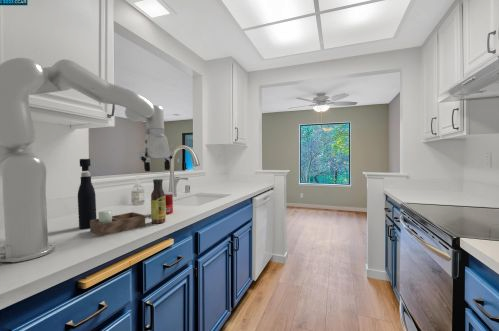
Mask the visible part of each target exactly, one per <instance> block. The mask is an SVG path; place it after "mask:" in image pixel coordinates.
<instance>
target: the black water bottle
mask: <svg viewBox="0 0 499 331" xmlns="http://www.w3.org/2000/svg"><path fill="white" fill-rule="evenodd" d="M79 167H81V171H82V172H81V173H80V174H81V175H80V184H79V187H78V190H77V210H78V214H77V215H78V229H80V230H88V229H89V230H90V220H94V219H97V202H96V201H97V200H96V191H95V188H94V186H93V183H92V176H91V172H90V167H91V158H80V159H79Z"/></svg>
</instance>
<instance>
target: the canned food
mask: <svg viewBox="0 0 499 331" xmlns="http://www.w3.org/2000/svg"><path fill="white" fill-rule="evenodd" d="M164 194H165V203H166V216H167V215H172V214H173V213H174V205H173V204H174V202H173V200H174V198H173V192H172V191H164Z"/></svg>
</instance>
